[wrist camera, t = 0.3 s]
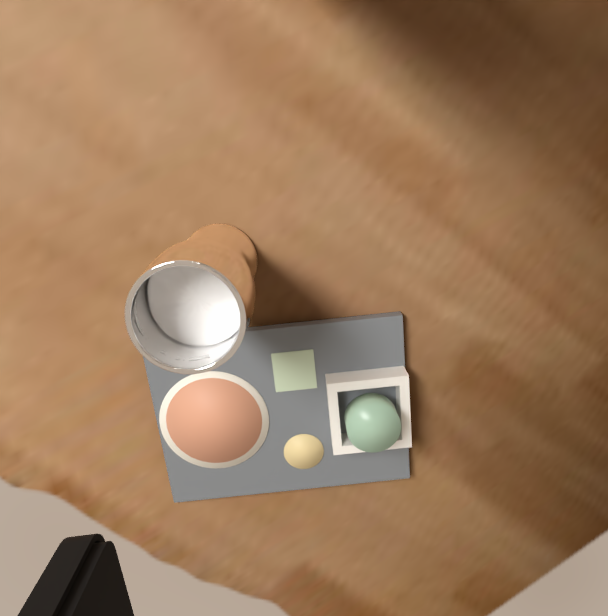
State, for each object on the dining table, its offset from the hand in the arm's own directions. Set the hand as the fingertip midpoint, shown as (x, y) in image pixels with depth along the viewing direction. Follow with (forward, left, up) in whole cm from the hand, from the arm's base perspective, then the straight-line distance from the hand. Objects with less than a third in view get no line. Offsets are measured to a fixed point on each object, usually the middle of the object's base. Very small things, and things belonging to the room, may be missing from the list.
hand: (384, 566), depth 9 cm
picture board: (+15, -4, -34) cm, 38 cm away
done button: (+15, +4, -31) cm, 35 cm away
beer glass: (+1, -7, -35) cm, 35 cm away
